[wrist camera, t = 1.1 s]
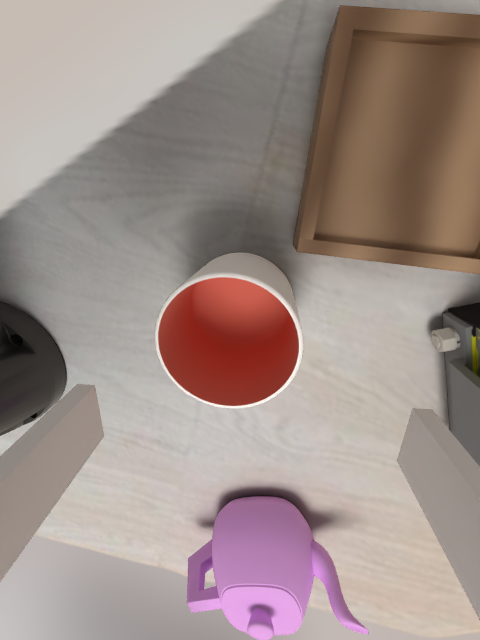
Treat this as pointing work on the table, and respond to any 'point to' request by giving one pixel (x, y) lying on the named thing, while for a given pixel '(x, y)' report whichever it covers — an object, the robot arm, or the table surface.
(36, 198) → the table surface
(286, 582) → the teapot
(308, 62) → the table surface
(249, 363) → the cup
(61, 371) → the robot arm
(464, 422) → the electrical component
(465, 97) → the wooden tray
